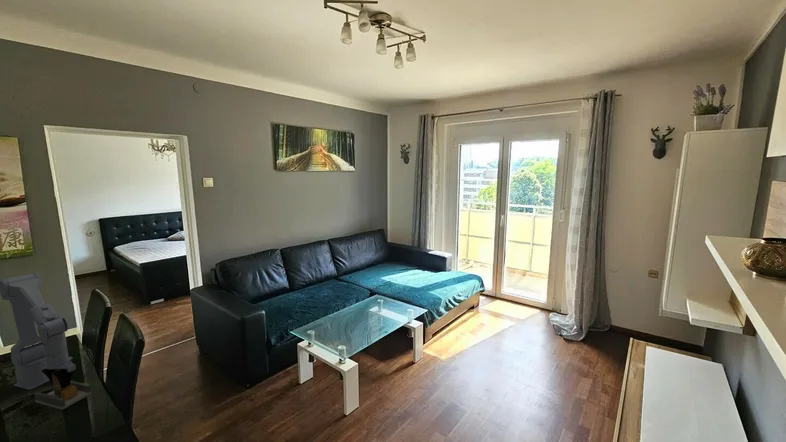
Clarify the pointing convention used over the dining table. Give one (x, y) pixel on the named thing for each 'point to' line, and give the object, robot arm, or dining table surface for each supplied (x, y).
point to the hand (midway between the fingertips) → (61, 385)
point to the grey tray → (58, 401)
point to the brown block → (57, 385)
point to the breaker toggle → (69, 392)
